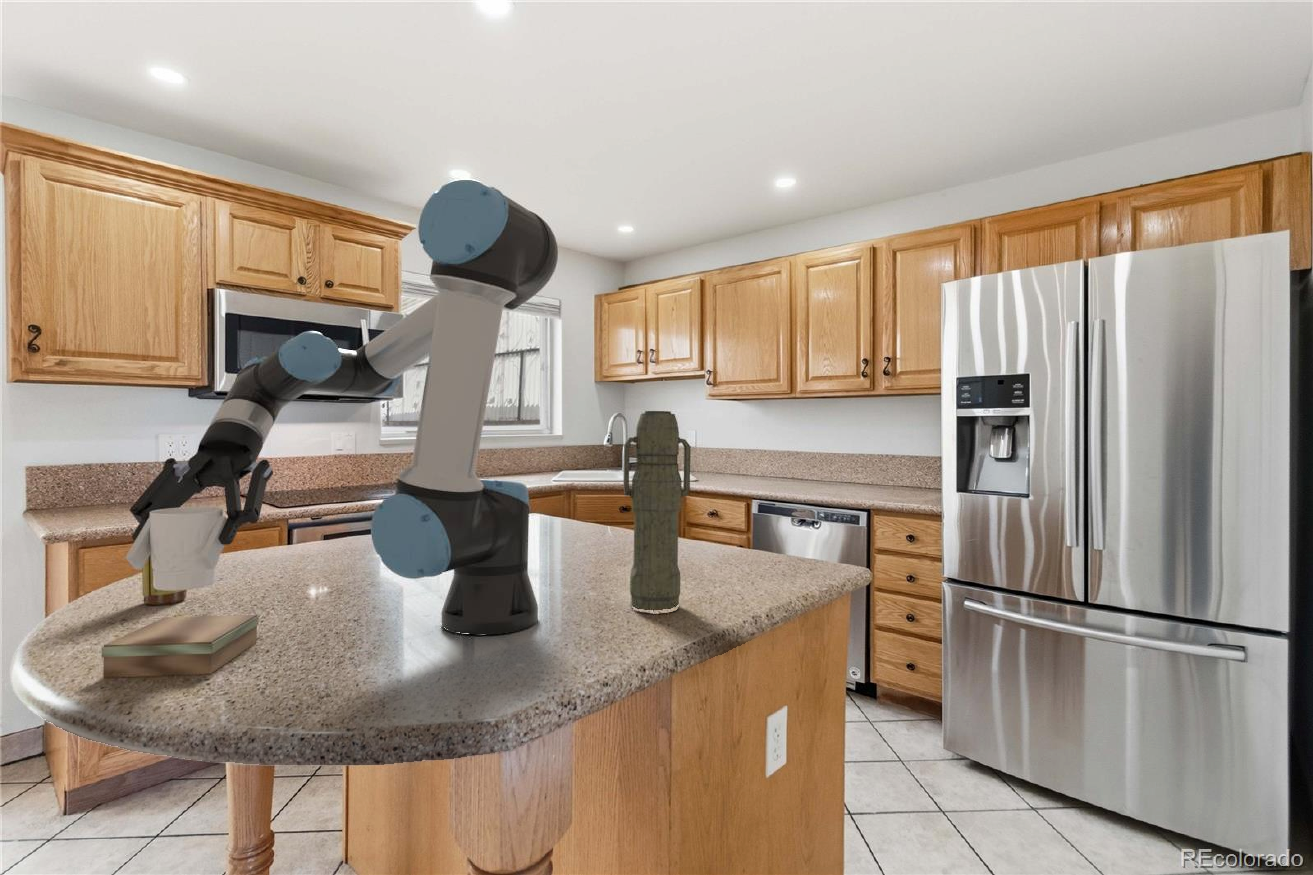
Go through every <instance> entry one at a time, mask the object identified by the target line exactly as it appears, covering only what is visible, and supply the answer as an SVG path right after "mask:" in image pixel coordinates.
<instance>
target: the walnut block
mask: <svg viewBox="0 0 1313 875" xmlns="http://www.w3.org/2000/svg"><path fill="white" fill-rule="evenodd" d="M259 620H260V617H259V615H257V614H245V615H243V614H241V615H238V614H237V615H235V614H234V615H203V616H202V615H201V616H197V615H196V616H193V615H192V616H164V617H162V618H160V619H158V620H155V621H153V622H152V623H149V624H147V625H145V626H143V627H141V628H138V629H136V630H133V631H132V632H129V633H128V634H125V635H123V636H121V637H118V638H116V639H114V640H111V641H110V642H108V643H105V644H104V645H103V646H102V647H101V658H103V666H102V667H103V668H102V669H103V673H102V674H103V675H102V677H103V679H110V678H131V677H132V678H133V677H134V678H135V677H136V678H137V677H160V676H165V675H166V676H187V675H189V676H190V675H191V676H192V675H212V674H213V673H214V672H216V671H217V670H219V669H220V668H222V667H223V666H225V665H226V664H228V663H229V662H230V661H232V660H233V659H235V658H236V657H238V656H240V655H241V654H242V653H244V652H245V651H246V650H247V649H249V648H251V647H252V646H254V645H255V644H257V634H258V631H257V630H258V629H257V628H258V627H257V626H258V625H259V624H260V622H259Z"/></svg>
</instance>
